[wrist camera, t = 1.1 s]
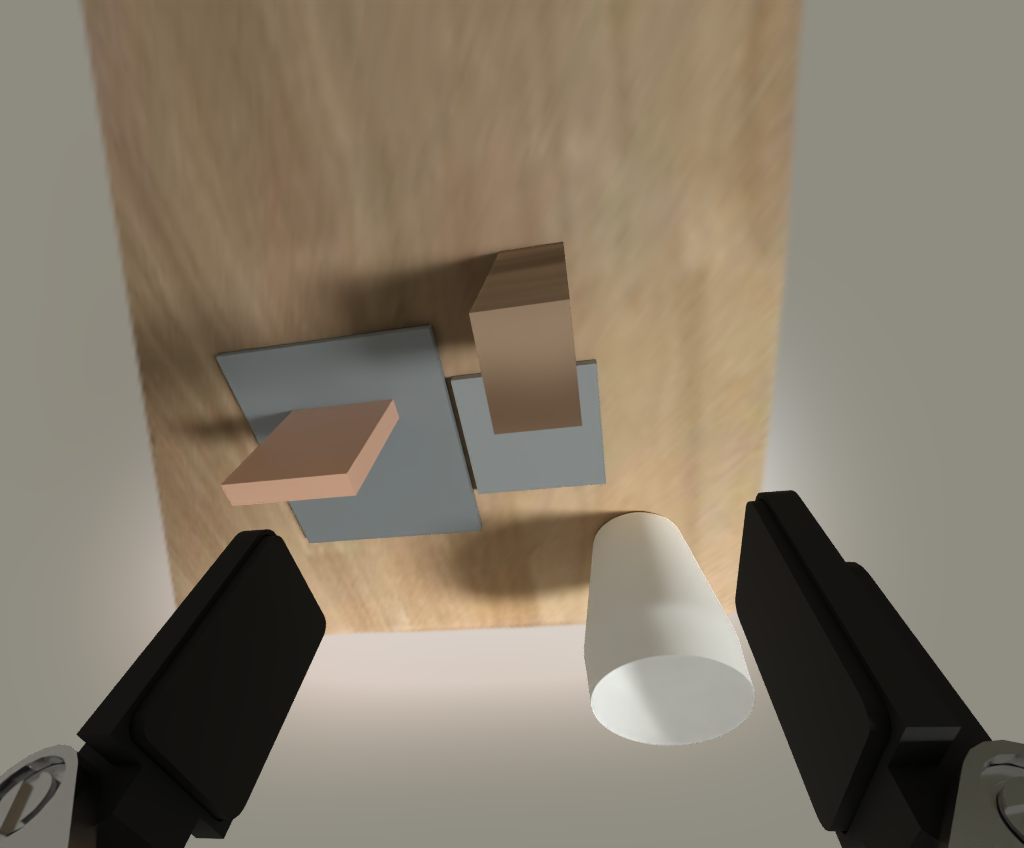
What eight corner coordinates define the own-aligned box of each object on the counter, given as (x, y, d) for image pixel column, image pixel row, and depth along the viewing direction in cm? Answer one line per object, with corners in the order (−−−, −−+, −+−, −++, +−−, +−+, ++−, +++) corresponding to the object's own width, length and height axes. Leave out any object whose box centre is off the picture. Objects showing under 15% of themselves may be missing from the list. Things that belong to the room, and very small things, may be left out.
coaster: (452, 376, 30) (450, 380, 29) (595, 359, 29) (596, 363, 28) (479, 488, 34) (478, 494, 34) (605, 478, 33) (605, 483, 33)
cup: (618, 479, 33) (649, 630, 23) (724, 527, 35) (797, 690, 24) (556, 559, 37) (557, 716, 27) (652, 598, 39) (688, 762, 29)
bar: (499, 251, 26) (468, 313, 16) (562, 241, 25) (569, 299, 16) (513, 338, 28) (494, 434, 19) (572, 330, 28) (582, 425, 18)
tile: (292, 410, 31) (220, 485, 24) (393, 399, 30) (346, 473, 23) (302, 431, 32) (234, 509, 25) (400, 420, 31) (357, 498, 24)
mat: (221, 353, 30) (215, 356, 30) (431, 324, 28) (429, 327, 28) (312, 537, 38) (309, 543, 38) (482, 525, 36) (481, 530, 36)
